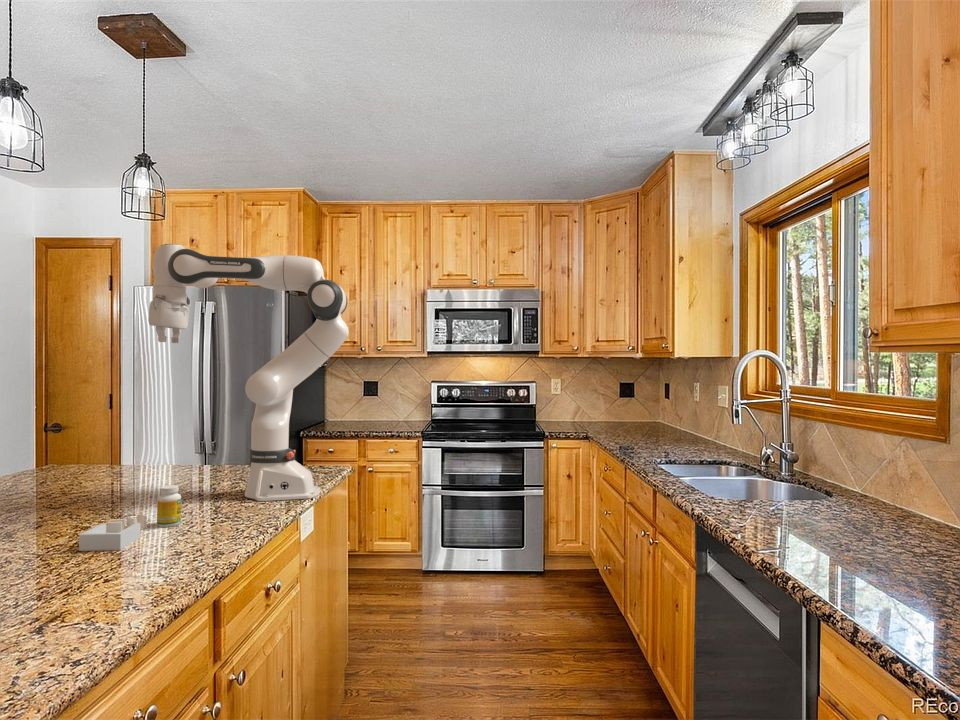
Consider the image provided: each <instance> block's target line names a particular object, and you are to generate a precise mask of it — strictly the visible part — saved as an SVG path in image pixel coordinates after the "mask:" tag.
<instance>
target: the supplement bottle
mask: <svg viewBox="0 0 960 720" xmlns="http://www.w3.org/2000/svg"><path fill="white" fill-rule="evenodd" d="M179 488H180V487H179V485H176V484H170V485H163V486H161V487H160V495H158V497H157V499H156V526H157V527H160V528H170V527H171V528H172V527H175V526H178V525H180V524H181V522H182V495H181V494H180V493H179Z"/></svg>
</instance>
